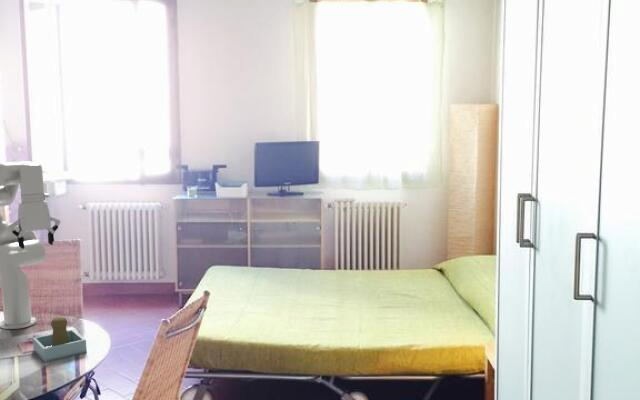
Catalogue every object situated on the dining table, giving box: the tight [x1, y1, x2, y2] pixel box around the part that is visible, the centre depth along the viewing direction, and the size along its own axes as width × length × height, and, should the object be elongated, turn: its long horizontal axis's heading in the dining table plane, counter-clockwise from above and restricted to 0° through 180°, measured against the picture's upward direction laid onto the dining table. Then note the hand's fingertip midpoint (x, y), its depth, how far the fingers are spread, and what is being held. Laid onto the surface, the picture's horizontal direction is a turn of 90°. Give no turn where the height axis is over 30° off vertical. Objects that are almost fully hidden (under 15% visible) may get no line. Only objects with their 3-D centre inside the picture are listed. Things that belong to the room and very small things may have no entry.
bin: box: [32, 329, 87, 363], centre depth 226 cm, size 14×14×4 cm
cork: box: [50, 316, 69, 346], centre depth 226 cm, size 6×6×11 cm
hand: (36, 246), depth 238 cm, fingers open, 9 cm apart
